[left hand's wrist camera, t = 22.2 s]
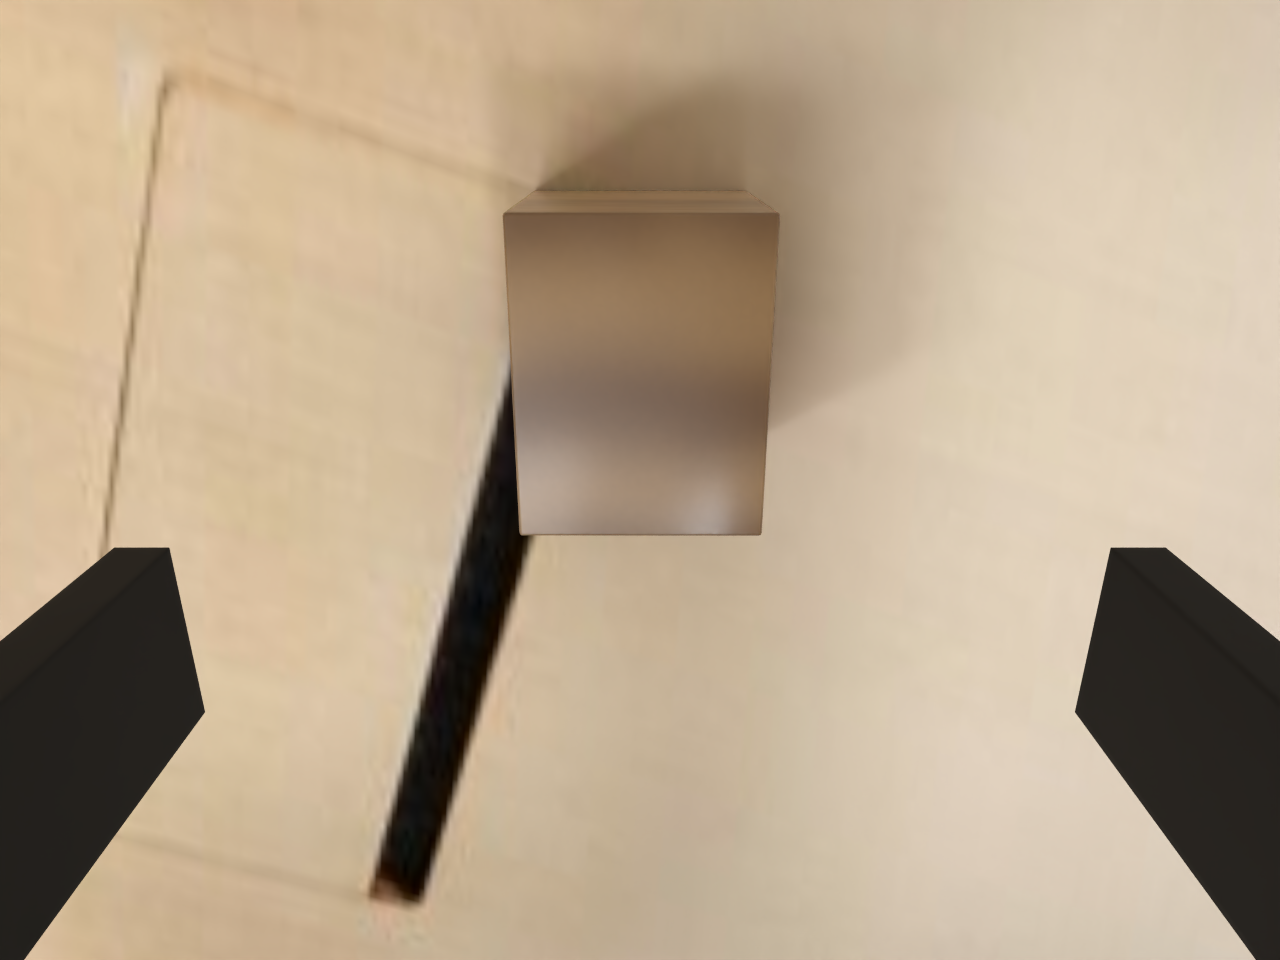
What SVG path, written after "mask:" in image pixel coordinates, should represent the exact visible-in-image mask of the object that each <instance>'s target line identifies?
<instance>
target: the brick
mask: <svg viewBox="0 0 1280 960" xmlns="http://www.w3.org/2000/svg"><path fill="white" fill-rule="evenodd" d="M779 223H780V215H779V213H777V212H776V211H774V210H773V209H772V208H770V207H769V206H767V205H766V204H764V203H763V202H762V201H760V200H759V199H757V198H756V197H754V196H753V195H752V194H750V193H749V192H747V191H534V192H532V193H531V194H530V195H528V196H527V197H526V198H524V199H523V200H521V201H520V202H519V203H517V204H516V205H514V206H513V207H512V208H510V209H509V210H508V211H506V212H505V213H504V214H503V228H504V247H505V265H506V284H507V303H508V322H509V340H510V359H511V378H512V397H513V415H514V434H515V453H516V471H517V490H518V509H519V528H520V534H521V535H761V533H762V517H763V499H764V482H765V465H766V448H767V430H768V413H769V396H770V378H771V361H772V344H773V327H774V309H775V292H776V275H777V257H778V240H779Z"/></svg>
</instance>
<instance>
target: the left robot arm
mask: <svg viewBox="0 0 1280 960" xmlns="http://www.w3.org/2000/svg"><path fill="white" fill-rule="evenodd" d="M204 713H205V710H204V705H203V701H202V696H201V691H200V687H199V682H198V678H197V673H196V668H195V664H194V659H193V655H192V650H191V645H190V641H189V636H188V632H187V627H186V623H185V618H184V613H183V609H182V604H181V600H180V595H179V590H178V586H177V581H176V577H175V572H174V567H173V563H172V558H171V554H170V549H169V548H113V549H112V550H111V551H110V552H108V553H107V554H106V555H105V556H104V557H102V558H101V559H100V560H99V561H97V562H96V563H95V564H94V565H93V566H91V567H90V568H89V569H88V570H87V571H85V572H84V573H83V574H82V575H80V576H79V577H78V578H77V579H76V580H74V581H73V582H72V583H71V584H69V585H68V586H67V587H66V588H65V589H63V590H62V591H61V592H60V593H58V594H57V595H56V596H55V597H54V598H52V599H51V600H50V601H49V602H48V603H46V604H45V605H44V606H43V607H41V608H40V609H39V610H38V611H37V612H35V613H34V614H33V615H32V616H30V617H29V618H28V619H27V620H26V621H24V622H23V623H22V624H21V625H19V626H18V627H17V628H16V629H15V630H13V631H12V632H11V633H10V634H9V635H7V636H6V637H5V638H4V639H2V640H1V641H0V960H24V959H25V958H26V956H27V955H28V954H29V952H30V951H31V950H32V948H33V947H34V945H35V944H36V943H37V941H38V940H39V939H40V937H41V936H42V935H43V933H44V932H45V930H46V929H47V928H48V926H49V925H50V924H51V922H52V921H53V919H54V918H55V917H56V915H57V914H58V913H59V911H60V910H61V909H62V907H63V906H64V904H65V903H66V902H67V900H68V899H69V898H70V896H71V895H72V893H73V892H74V891H75V889H76V888H77V887H78V885H79V884H80V882H81V881H82V880H83V878H84V877H85V876H86V874H87V873H88V872H89V870H90V869H91V867H92V866H93V865H94V863H95V862H96V861H97V859H98V858H99V856H100V855H101V854H102V852H103V851H104V850H105V848H106V847H107V846H108V844H109V843H110V841H111V840H112V839H113V837H114V836H115V835H116V833H117V832H118V830H119V829H120V828H121V826H122V825H123V824H124V822H125V821H126V820H127V818H128V817H129V815H130V814H131V813H132V811H133V810H134V809H135V807H136V806H137V804H138V803H139V802H140V800H141V799H142V798H143V796H144V795H145V793H146V792H147V791H148V789H149V788H150V787H151V785H152V784H153V783H154V781H155V780H156V778H157V777H158V776H159V774H160V773H161V772H162V770H163V769H164V767H165V766H166V765H167V763H168V762H169V761H170V759H171V758H172V757H173V755H174V754H175V752H176V751H177V750H178V748H179V747H180V746H181V744H182V743H183V741H184V740H185V739H186V737H187V736H188V735H189V733H190V732H191V731H192V729H193V728H194V726H195V725H196V724H197V722H198V721H199V720H200V718H201V717H202V715H203V714H204ZM1075 713H1076V714H1077V715H1078V717H1079V718H1080V720H1081V721H1082V722H1083V724H1084V725H1085V726H1086V728H1087V729H1088V731H1089V732H1090V733H1091V735H1092V736H1093V737H1094V739H1095V740H1096V741H1097V743H1098V744H1099V746H1100V747H1101V748H1102V750H1103V751H1104V752H1105V754H1106V755H1107V757H1108V758H1109V759H1110V761H1111V762H1112V763H1113V765H1114V766H1115V767H1116V769H1117V770H1118V772H1119V773H1120V774H1121V776H1122V777H1123V778H1124V780H1125V781H1126V783H1127V784H1128V785H1129V787H1130V788H1131V789H1132V791H1133V792H1134V793H1135V795H1136V796H1137V798H1138V799H1139V800H1140V802H1141V803H1142V804H1143V806H1144V807H1145V809H1146V810H1147V811H1148V813H1149V814H1150V815H1151V817H1152V818H1153V820H1154V821H1155V822H1156V824H1157V825H1158V826H1159V828H1160V829H1161V830H1162V832H1163V833H1164V835H1165V836H1166V837H1167V839H1168V840H1169V841H1170V843H1171V844H1172V846H1173V847H1174V848H1175V850H1176V851H1177V852H1178V854H1179V855H1180V856H1181V858H1182V859H1183V861H1184V862H1185V863H1186V865H1187V866H1188V867H1189V869H1190V870H1191V872H1192V873H1193V874H1194V876H1195V877H1196V878H1197V880H1198V881H1199V882H1200V884H1201V885H1202V887H1203V888H1204V889H1205V891H1206V892H1207V893H1208V895H1209V896H1210V898H1211V899H1212V900H1213V902H1214V903H1215V904H1216V906H1217V907H1218V909H1219V910H1220V911H1221V913H1222V914H1223V915H1224V917H1225V918H1226V919H1227V921H1228V922H1229V924H1230V925H1231V926H1232V928H1233V929H1234V930H1235V932H1236V933H1237V935H1238V936H1239V937H1240V939H1241V940H1242V941H1243V943H1244V944H1245V945H1246V947H1247V948H1248V950H1249V951H1250V952H1251V954H1252V955H1253V956H1254V958H1255V959H1256V960H1280V641H1279V640H1278V639H1276V638H1275V637H1274V636H1273V635H1271V634H1270V633H1269V632H1268V631H1267V630H1265V629H1264V628H1263V627H1262V626H1261V625H1259V624H1258V623H1257V622H1256V621H1254V620H1253V619H1252V618H1251V617H1250V616H1248V615H1247V614H1246V613H1245V612H1243V611H1242V610H1241V609H1240V608H1239V607H1237V606H1236V605H1235V604H1234V603H1232V602H1231V601H1230V600H1229V599H1228V598H1226V597H1225V596H1224V595H1223V594H1222V593H1220V592H1219V591H1218V590H1217V589H1215V588H1214V587H1213V586H1212V585H1211V584H1209V583H1208V582H1207V581H1206V580H1204V579H1203V578H1202V577H1201V576H1200V575H1198V574H1197V573H1196V572H1195V571H1193V570H1192V569H1191V568H1190V567H1189V566H1187V565H1186V564H1185V563H1184V562H1183V561H1181V560H1180V559H1179V558H1178V557H1176V556H1175V555H1174V554H1173V553H1172V552H1170V551H1169V550H1168V549H1167V548H1111V549H1110V554H1109V558H1108V563H1107V567H1106V572H1105V577H1104V581H1103V586H1102V590H1101V595H1100V600H1099V604H1098V609H1097V613H1096V618H1095V622H1094V627H1093V632H1092V636H1091V641H1090V645H1089V650H1088V655H1087V659H1086V664H1085V668H1084V673H1083V678H1082V682H1081V687H1080V691H1079V696H1078V701H1077V705H1076V710H1075Z"/></svg>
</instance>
